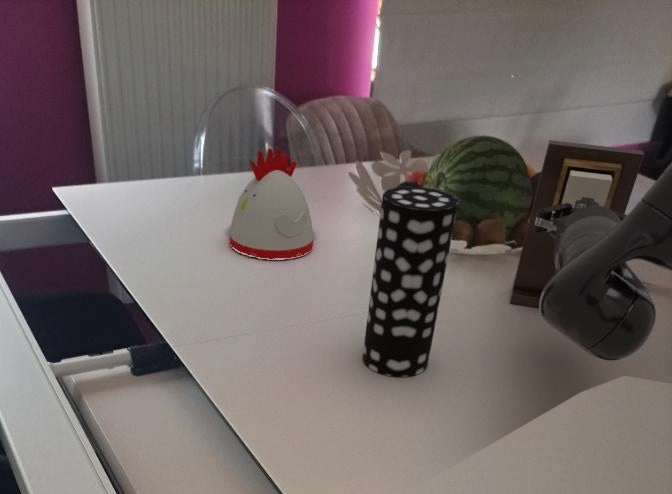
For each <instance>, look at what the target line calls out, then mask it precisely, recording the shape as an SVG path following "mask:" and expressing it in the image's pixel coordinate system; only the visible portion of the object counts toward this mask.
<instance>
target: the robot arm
mask: <svg viewBox="0 0 672 494" xmlns="http://www.w3.org/2000/svg"><path fill="white" fill-rule="evenodd" d="M572 206H573V205H572V204H570V203H564V204H559V205H555V206H551V207H547V208H543V209H539V210H538V213H537V216H536V220H535V225H534V229H533V231H535V232H537V233H541V232H545V231H547V232H550V234H551V236H552V237H553V238H554V239H555V252H554V262H555V268H556V273H555V274H554V275H553V276H552V278H551V279H550V280H549V281H548V283H547V284H546V286H545V287H544V289H543V291H542V294H541V297H540V302H539V308H538V311H539V315H540V316H541V319H542V320H543V321H544V322H545V323H546V325H548V326H549V327H551V328H552V329H554V330H555V331H556V332H558V333H560V334H561V335H563V336H564V337H565V338H567V339H568V340H570V341H571V342H572V343H573V344H575V345H576V346H578V347H579V348H581V349H582V350H583V351H585V352H586V353H587V354H589V355H590V356H592V357H594V358H596V359H598V360H601V361H605V362H616V361H621V360H624V359H627V358H629V357H630V356H632V355H634V354H635V353H637V352H639V350H641V348H642V347H643V346H644V345H645V344H646V343H647V341H648V339H649V338H650V336H651V334H652V332H653V330H654V327H655V324H656V319H657V307H656V303H655V300H654V297H653V296H652V294H651V291H649V289H648V288H647V287H646V285H645V284H644V282H643V281H642V280H641V278H639V276H638V275H637V273H635V272H634V271H633V269H632V268H631V266H630V262H631V261H633V260H639V261H644V262H646V263H648V264H650V265H653V266H655V267H658V268H660V269H662V270H666V271H669V272H672V162H671V163H670V164H669V165H668V166H667V167H666V168H665V170H663V173H661V175H660V176H659V177H658V178H657V179H656V181H655V182H653V184H652V186H651V187H650V188H649V189H648V190H647V191H646V193H645V194H644V195H643V196H642V198H641V200H639V201H638V202H637V203H636V205H635V206H634V207H633V208H632V209H631V211H630V212H629V213H627V214H626V213H625V214H623V213H621V212H618V211H616V210H614V209H608V208H606V207H603V206H599V204H598V203H596V202H594V198H586V197H582V199H581V201H580V200H577V201H576V203H575V206H574V208H572Z"/></svg>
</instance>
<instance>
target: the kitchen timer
mask: <svg viewBox="0 0 672 494" xmlns="http://www.w3.org/2000/svg"><path fill="white" fill-rule="evenodd" d="M282 156H283V157H282ZM289 160H290V155H289V154H287V153H284V155H282V148H280V147H278V146H276V149H275V153H274V150H273V149H272V148H270V147H269V148H268V149H267V154H266V160H265V155H264V153H263V151H261V150H257V160H256V162H257V163H255V161H254V160H251V159H250V160H249V164H250V167H251V170H252V172H253V176H254V177H253V178H252V179H251V180H250V181H249V182H248V184H247V185H246V186H245V188H244V189H243V191H242V192H241V194H240V195H239V197H238V201H237V202H236V206H235V209H234V212H233V216H232V218H231V219H232V220H231V224H230V231H229V245H230V244H231V245H232V247H234V248H235V249H237V250H238V251H240V252H243V253H246V254H248V255H252V256H255V257H260V258H269V259H273V258H274V259H275V258H291V257H297V256H301V255H304V254H305V253H307V252H309V251H310V250H311V249H312V247H313V248H314V230H313V229H314V228H313V222H312V218H311V214H310V213H311V212H310V209H309V208H310V207H309V205H308V202H307V198H306V197H305V195H304V193H303V191H302V189H301V188H300V186H299V185H298V184H297V182H296V181H295V179H293V178H292V176H293V174H294V171H295V169H296V166H297V161H295V160H292V161H291V163H290V164H289V162H290V161H289ZM288 165H289V166H288ZM312 250H313V249H312Z"/></svg>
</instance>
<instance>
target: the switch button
mask: <svg viewBox="0 0 672 494" xmlns="http://www.w3.org/2000/svg"><path fill="white" fill-rule="evenodd" d="M611 184H612V176H611V175H604V174H596V173H588V172H579V171H570V174H569V178H568V181H567V185H566V189H565V192H564V196H563V200H562V203H561V204H564V203H570V204H572V205H573V206H572V208H574V206H575V203H576V201H577V200H580V201H581V199H582V197H586V198H594V202H596V203H598V204H599V206H603V207H604V206H605V203H606V200H607V196H608V193H609V190H610V187H611Z"/></svg>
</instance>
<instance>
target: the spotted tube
mask: <svg viewBox="0 0 672 494" xmlns="http://www.w3.org/2000/svg"><path fill="white" fill-rule="evenodd" d="M458 207H459V200H458V199H457V197H455V195H453V194H450V193H449V192H446V191H444V190H443V191H442V190H439V189H435V188H431V187H430V188H429V187H423V186H399V187H397V186H396V187H392V188H388V189H386V190H385V191H383V193H382V199H381V207H380V215H379V222H378V229H377V230H378V231H377V238H376V246H375V254H374V262H373V271H372V278H371V287H370V294H369V301H368V302H369V303H368V310H367V319H366V327H365V334H364V341H363V342H364V343H363V350H362V362H363V364H364V365H365V366H366V367H367V368H368V369H369V370H371V371H373V372H376V373H378V374H381V375H383V376H388V377H395V378H408V377H414V376H417V375H420V374H422V373H424V372H425V371H426V370H427V369H428V365H429V359H430V354H431V351H432V350H431V349H432V346H433V345H432V344H433V339H434V333H435V328H436V322H437V318H438V312H439V307H440V302H441V296H442V291H443V286H444V281H445V276H446V275H445V274H446V269H447V264H448V259H449V254H450V250H451V245H452V238H453V233H454V229H455V228H454V227H455V223H456V217H457V211H458Z"/></svg>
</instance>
